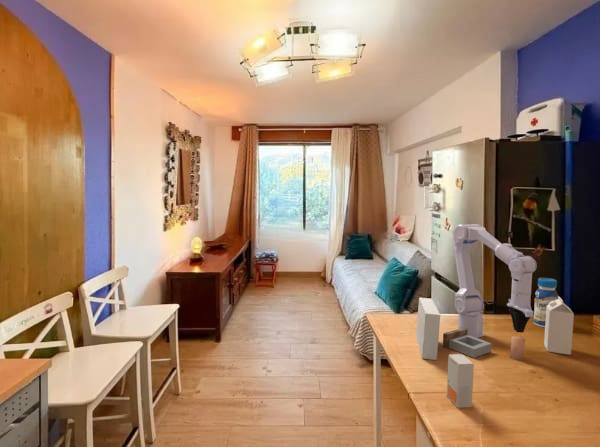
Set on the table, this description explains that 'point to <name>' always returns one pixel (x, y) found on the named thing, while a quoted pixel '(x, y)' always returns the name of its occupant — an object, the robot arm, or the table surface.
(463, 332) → the walnut wall
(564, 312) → the milk carton
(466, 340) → the socket block
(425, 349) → the skincare box
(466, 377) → the skincare box
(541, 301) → the beverage bottle
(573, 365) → the table surface
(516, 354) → the peach egg shape
